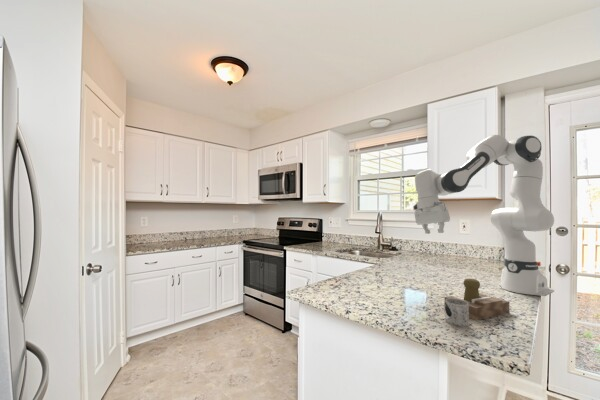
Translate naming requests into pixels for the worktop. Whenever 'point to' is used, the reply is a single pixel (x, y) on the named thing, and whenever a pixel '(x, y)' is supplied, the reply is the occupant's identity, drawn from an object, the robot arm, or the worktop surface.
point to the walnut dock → (486, 307)
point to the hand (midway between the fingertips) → (434, 233)
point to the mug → (457, 312)
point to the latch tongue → (479, 299)
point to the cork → (471, 289)
